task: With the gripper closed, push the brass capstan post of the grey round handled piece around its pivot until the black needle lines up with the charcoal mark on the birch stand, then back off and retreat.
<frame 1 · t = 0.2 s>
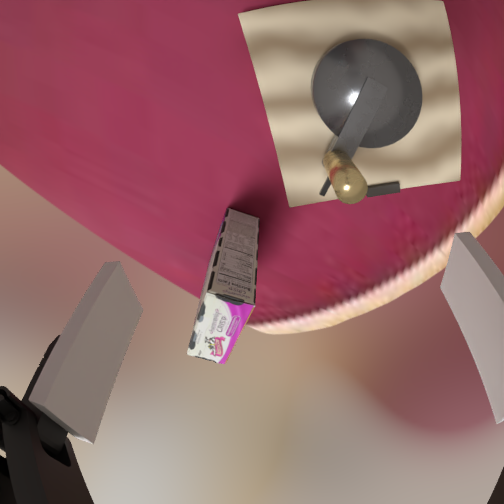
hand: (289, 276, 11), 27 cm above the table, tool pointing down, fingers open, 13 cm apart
stand: (364, 78, 28), on the table
candy bar box: (233, 242, 43), on the table
grey round handled piece: (364, 125, 26), point 7 cm above the table, hinge at -35.0°
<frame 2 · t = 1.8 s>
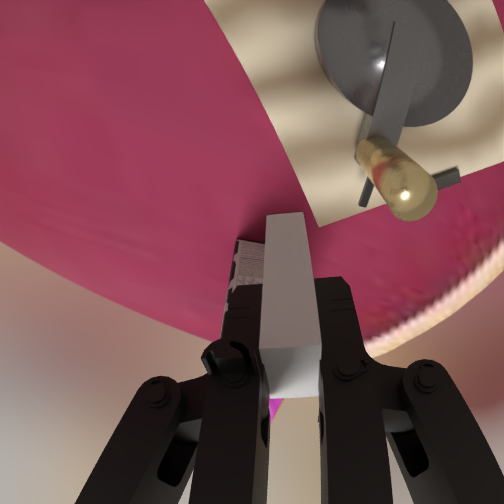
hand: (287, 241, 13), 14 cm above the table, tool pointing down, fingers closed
stand: (385, 31, 17), on the table
candy bar box: (253, 280, 33), on the table
grey round handled piece: (408, 91, 15), point 7 cm above the table, hinge at -35.0°
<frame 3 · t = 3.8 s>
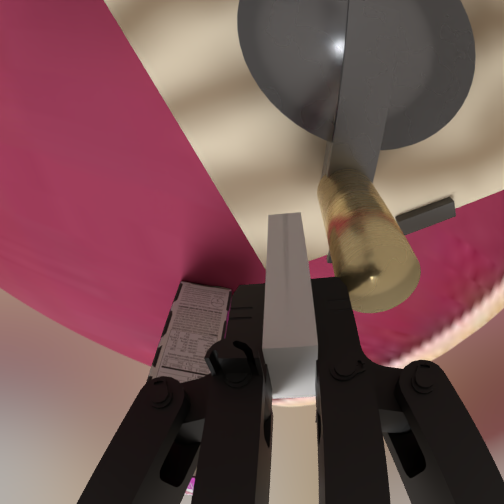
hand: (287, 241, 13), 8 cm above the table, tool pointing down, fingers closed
stand: (350, 16, 13), on the table
candy bar box: (207, 321, 29), on the table
grey round handled piece: (378, 101, 10), point 7 cm above the table, hinge at -29.9°, touching gripper
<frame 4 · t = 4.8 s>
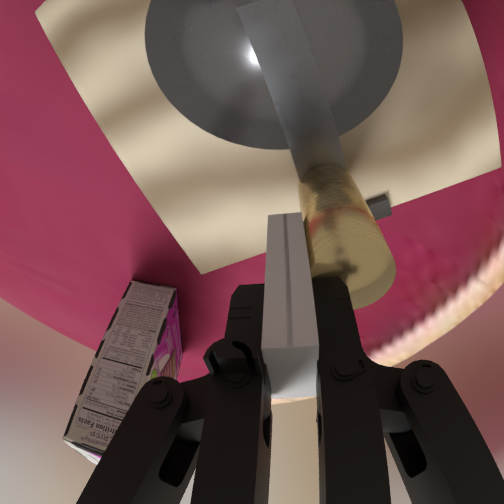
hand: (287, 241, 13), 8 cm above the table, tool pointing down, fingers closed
stand: (265, 15, 13), on the table
candy bar box: (160, 319, 30), on the table
grey round handled piece: (301, 97, 10), point 7 cm above the table, hinge at -6.9°, touching gripper
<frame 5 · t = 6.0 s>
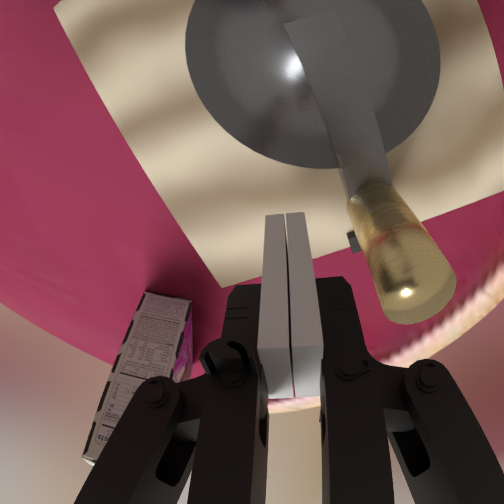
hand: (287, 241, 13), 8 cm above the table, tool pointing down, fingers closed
stand: (299, 29, 14), on the table
candy bar box: (172, 330, 30), on the table
grey round handled piece: (359, 119, 10), point 7 cm above the table, hinge at -2.0°
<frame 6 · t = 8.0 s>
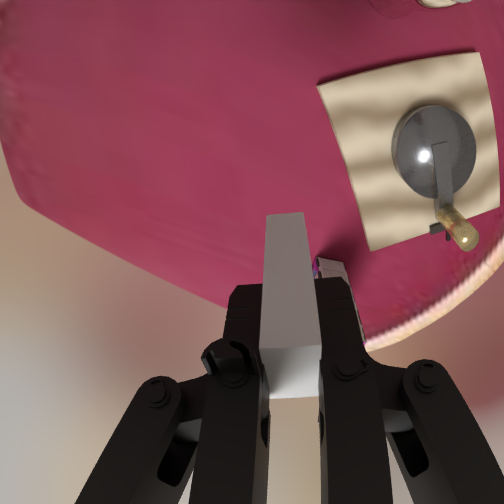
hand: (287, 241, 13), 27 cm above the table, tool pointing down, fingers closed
stand: (422, 134, 33), on the table
candy bar box: (320, 284, 48), on the table
grey round handled piece: (451, 184, 30), point 7 cm above the table, hinge at -2.1°
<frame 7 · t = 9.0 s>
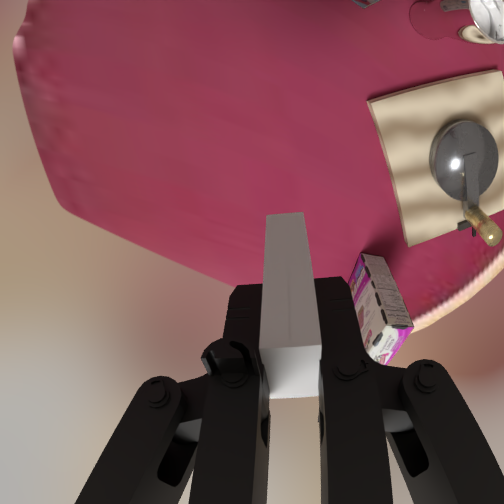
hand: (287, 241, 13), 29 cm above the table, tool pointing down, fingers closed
stand: (453, 143, 35), on the table
candy bar box: (362, 277, 52), on the table
grey round handled piece: (479, 189, 32), point 7 cm above the table, hinge at -2.1°
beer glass: (427, 20, 26), on the table
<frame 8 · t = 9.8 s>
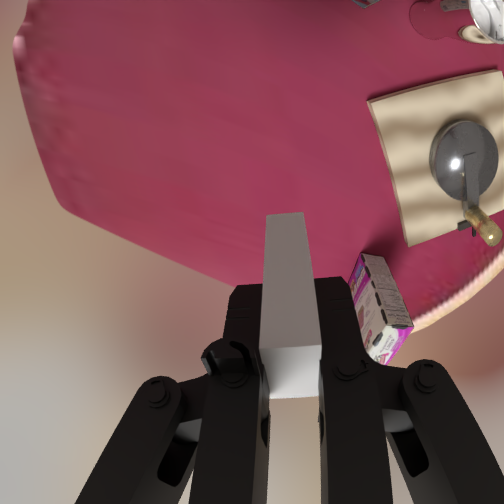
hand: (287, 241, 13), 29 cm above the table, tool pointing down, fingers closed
stand: (453, 143, 35), on the table
candy bar box: (362, 277, 52), on the table
grey round handled piece: (479, 189, 32), point 7 cm above the table, hinge at -2.1°
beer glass: (427, 20, 26), on the table
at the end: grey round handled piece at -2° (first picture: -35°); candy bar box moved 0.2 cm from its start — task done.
